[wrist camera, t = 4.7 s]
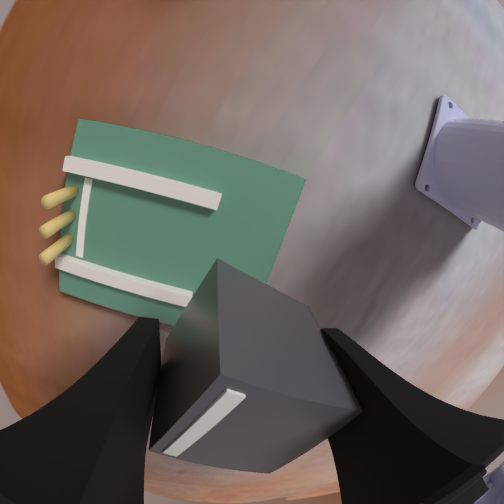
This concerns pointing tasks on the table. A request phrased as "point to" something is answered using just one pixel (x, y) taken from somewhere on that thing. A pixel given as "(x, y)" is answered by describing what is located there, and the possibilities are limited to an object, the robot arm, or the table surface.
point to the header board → (161, 218)
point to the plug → (247, 378)
